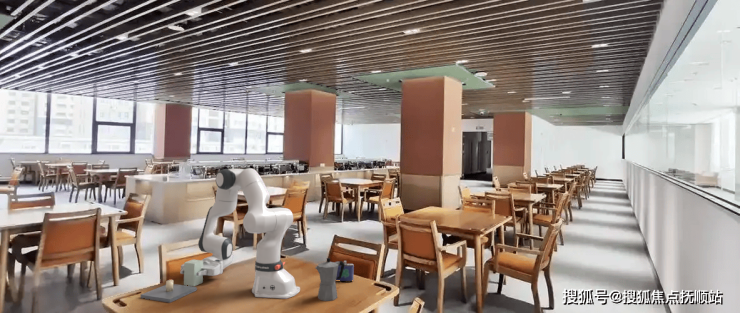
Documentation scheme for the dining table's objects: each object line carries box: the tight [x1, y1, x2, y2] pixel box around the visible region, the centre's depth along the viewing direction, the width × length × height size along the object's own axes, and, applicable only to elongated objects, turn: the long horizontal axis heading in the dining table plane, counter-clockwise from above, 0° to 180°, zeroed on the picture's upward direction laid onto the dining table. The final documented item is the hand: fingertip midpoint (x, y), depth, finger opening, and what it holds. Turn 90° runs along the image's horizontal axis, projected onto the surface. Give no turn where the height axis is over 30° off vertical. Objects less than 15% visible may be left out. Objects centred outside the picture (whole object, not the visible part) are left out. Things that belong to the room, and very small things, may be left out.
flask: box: [335, 260, 355, 281], centre depth 194 cm, size 9×3×11 cm, turn 88°
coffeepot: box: [314, 257, 345, 302], centre depth 172 cm, size 15×9×18 cm, turn 127°
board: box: [139, 279, 198, 304], centre depth 171 cm, size 16×16×6 cm
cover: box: [183, 259, 204, 287], centre depth 185 cm, size 6×6×11 cm
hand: (189, 273), depth 183 cm, fingers open, 8 cm apart
